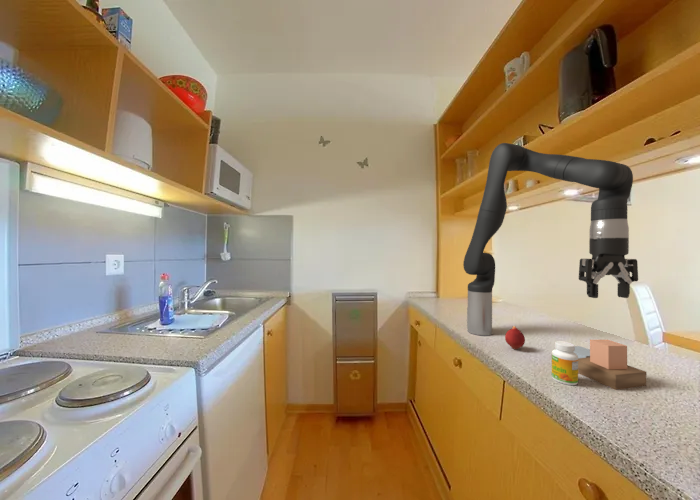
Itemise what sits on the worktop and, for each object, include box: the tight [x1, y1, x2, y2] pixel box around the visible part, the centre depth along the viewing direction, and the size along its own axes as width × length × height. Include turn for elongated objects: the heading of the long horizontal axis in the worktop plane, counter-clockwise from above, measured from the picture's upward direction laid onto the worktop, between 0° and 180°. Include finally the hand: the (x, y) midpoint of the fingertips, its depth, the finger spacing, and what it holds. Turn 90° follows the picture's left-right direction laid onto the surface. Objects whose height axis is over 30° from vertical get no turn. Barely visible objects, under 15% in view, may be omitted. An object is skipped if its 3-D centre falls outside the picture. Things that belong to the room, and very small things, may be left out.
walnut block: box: [578, 357, 647, 391], centre depth 70 cm, size 10×10×4 cm
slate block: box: [573, 345, 590, 358], centre depth 80 cm, size 7×7×4 cm
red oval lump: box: [504, 325, 526, 350], centre depth 91 cm, size 6×6×8 cm
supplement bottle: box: [551, 340, 579, 386], centre depth 69 cm, size 5×5×10 cm
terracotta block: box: [589, 339, 628, 369], centre depth 70 cm, size 5×5×6 cm
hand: (607, 297), depth 70 cm, fingers open, 8 cm apart
